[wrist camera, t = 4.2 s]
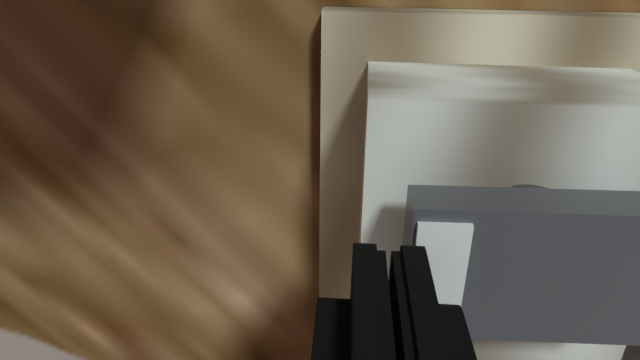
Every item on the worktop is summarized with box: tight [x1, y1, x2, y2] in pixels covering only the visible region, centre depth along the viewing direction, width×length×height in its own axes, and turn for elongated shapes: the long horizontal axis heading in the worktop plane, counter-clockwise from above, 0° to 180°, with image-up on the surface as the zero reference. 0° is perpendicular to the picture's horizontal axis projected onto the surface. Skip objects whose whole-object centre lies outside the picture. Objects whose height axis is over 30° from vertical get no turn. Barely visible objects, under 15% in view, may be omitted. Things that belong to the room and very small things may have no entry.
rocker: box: [402, 184, 640, 346], centre depth 12 cm, size 6×4×2 cm, turn 90°
